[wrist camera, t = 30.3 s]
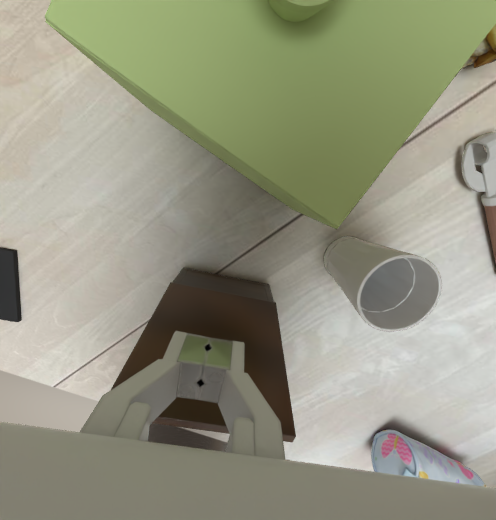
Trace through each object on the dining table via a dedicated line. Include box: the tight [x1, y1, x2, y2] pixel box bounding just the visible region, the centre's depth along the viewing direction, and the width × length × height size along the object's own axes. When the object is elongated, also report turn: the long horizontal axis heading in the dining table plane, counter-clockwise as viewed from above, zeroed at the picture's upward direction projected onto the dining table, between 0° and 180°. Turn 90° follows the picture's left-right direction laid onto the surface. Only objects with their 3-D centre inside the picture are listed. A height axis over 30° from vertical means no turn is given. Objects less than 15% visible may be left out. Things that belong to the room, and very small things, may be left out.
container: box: [45, 0, 496, 229], centre depth 18 cm, size 19×16×20 cm
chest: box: [172, 268, 274, 302], centre depth 33 cm, size 14×13×6 cm
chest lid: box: [111, 283, 296, 442], centre depth 22 cm, size 14×13×1 cm
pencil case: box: [371, 430, 486, 487], centre depth 41 cm, size 21×9×10 cm, turn 56°
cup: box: [324, 236, 442, 332], centre depth 28 cm, size 8×8×12 cm
